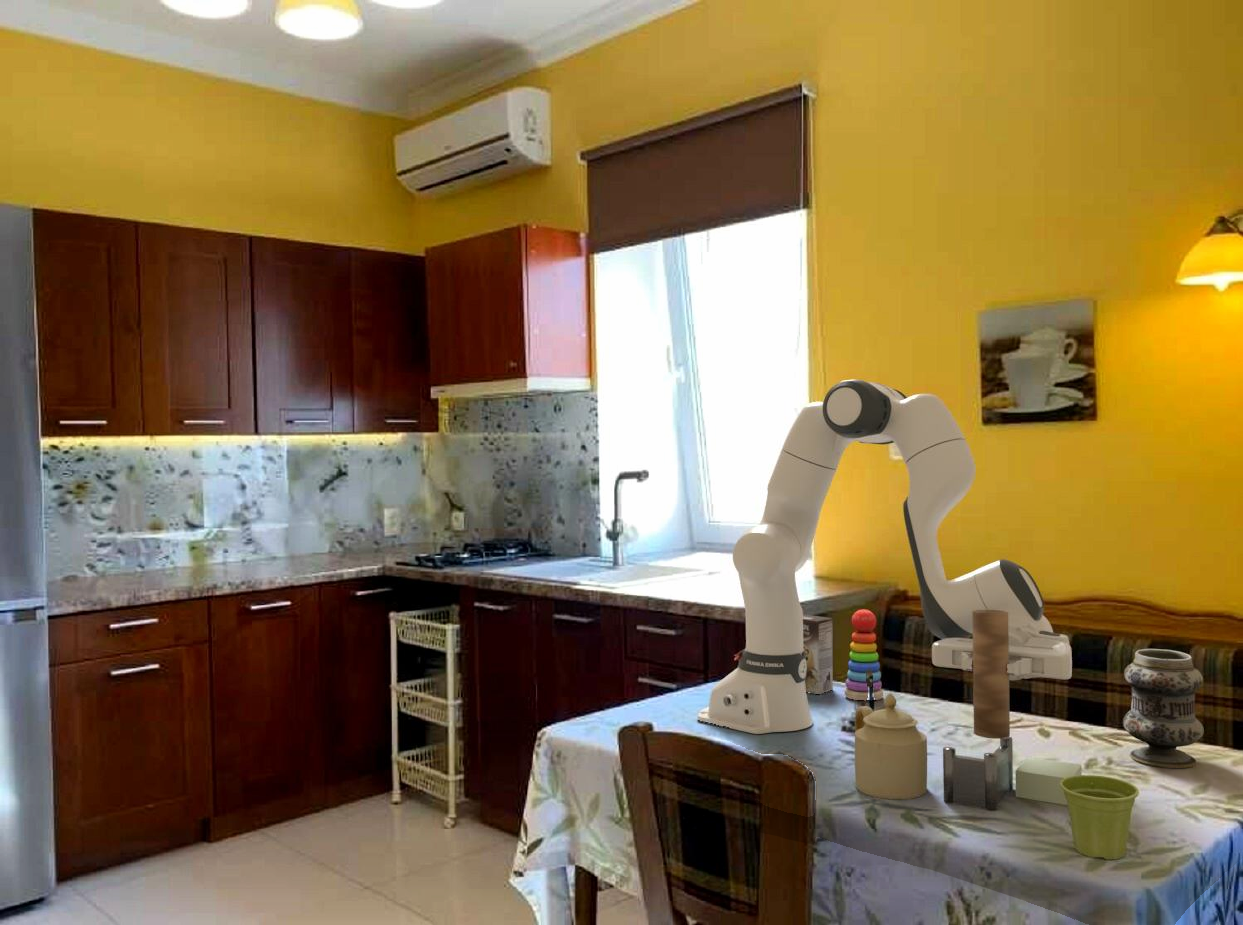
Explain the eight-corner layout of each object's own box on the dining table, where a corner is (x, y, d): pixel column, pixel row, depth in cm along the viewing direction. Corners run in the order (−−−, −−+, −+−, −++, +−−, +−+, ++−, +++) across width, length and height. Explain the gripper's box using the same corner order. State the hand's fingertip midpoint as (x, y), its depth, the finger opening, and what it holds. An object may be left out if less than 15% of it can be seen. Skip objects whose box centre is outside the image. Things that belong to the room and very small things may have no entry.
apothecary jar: (1204, 775, 165) (1203, 663, 165) (1121, 764, 171) (1119, 657, 171) (1203, 754, 175) (1202, 649, 175) (1125, 745, 181) (1124, 644, 181)
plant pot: (1103, 871, 129) (1102, 802, 129) (1045, 845, 138) (1044, 781, 138) (1155, 858, 133) (1155, 791, 133) (1096, 833, 142) (1095, 770, 142)
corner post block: (942, 802, 155) (941, 749, 155) (963, 779, 165) (962, 730, 165) (995, 811, 151) (995, 757, 150) (1014, 788, 160) (1013, 737, 160)
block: (1015, 796, 157) (1015, 770, 156) (1027, 781, 163) (1026, 756, 163) (1072, 806, 152) (1072, 779, 152) (1081, 790, 159) (1081, 764, 159)
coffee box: (782, 689, 227) (781, 616, 227) (799, 684, 232) (798, 612, 231) (818, 695, 221) (817, 620, 221) (834, 690, 226) (833, 616, 225)
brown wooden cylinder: (970, 735, 151) (968, 613, 151) (978, 727, 156) (977, 608, 155) (1005, 740, 149) (1003, 616, 148) (1013, 731, 153) (1011, 611, 152)
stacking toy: (884, 703, 214) (883, 613, 213) (844, 701, 215) (843, 612, 215) (882, 693, 221) (881, 607, 221) (844, 692, 223) (843, 606, 223)
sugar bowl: (821, 782, 165) (819, 689, 165) (861, 767, 172) (860, 677, 172) (901, 805, 154) (900, 705, 154) (941, 788, 161) (940, 692, 161)
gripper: (944, 625, 168) (918, 639, 157) (1079, 636, 157) (1062, 652, 146) (944, 663, 168) (919, 681, 157) (1079, 677, 157) (1062, 697, 146)
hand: (989, 667), depth 151 cm, fingers closed on brown wooden cylinder, 5 cm apart
